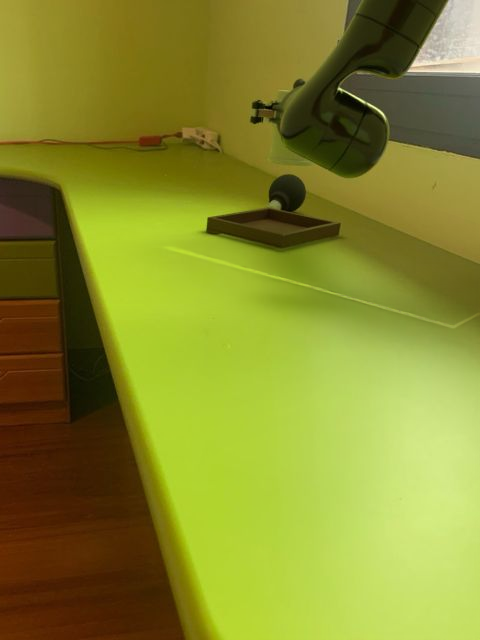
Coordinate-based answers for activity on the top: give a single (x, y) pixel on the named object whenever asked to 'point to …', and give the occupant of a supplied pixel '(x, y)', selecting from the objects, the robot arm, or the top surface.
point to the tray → (273, 227)
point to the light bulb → (286, 193)
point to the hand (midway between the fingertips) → (294, 111)
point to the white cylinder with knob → (278, 150)
